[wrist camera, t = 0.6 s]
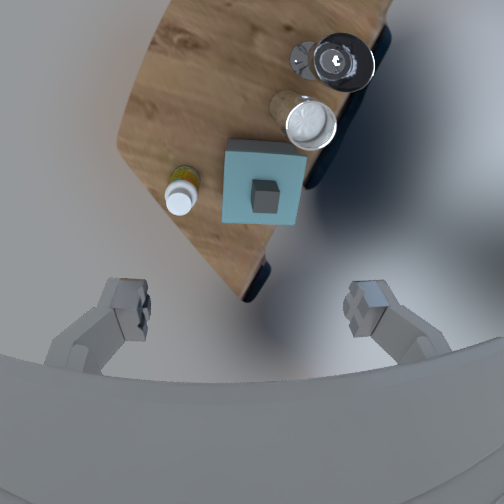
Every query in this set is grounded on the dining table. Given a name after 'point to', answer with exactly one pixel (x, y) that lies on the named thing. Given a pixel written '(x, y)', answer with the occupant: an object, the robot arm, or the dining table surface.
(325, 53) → the wine glass
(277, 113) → the beer glass
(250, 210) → the lid
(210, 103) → the dining table surface
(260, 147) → the storage box
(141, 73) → the dining table surface
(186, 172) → the supplement bottle
